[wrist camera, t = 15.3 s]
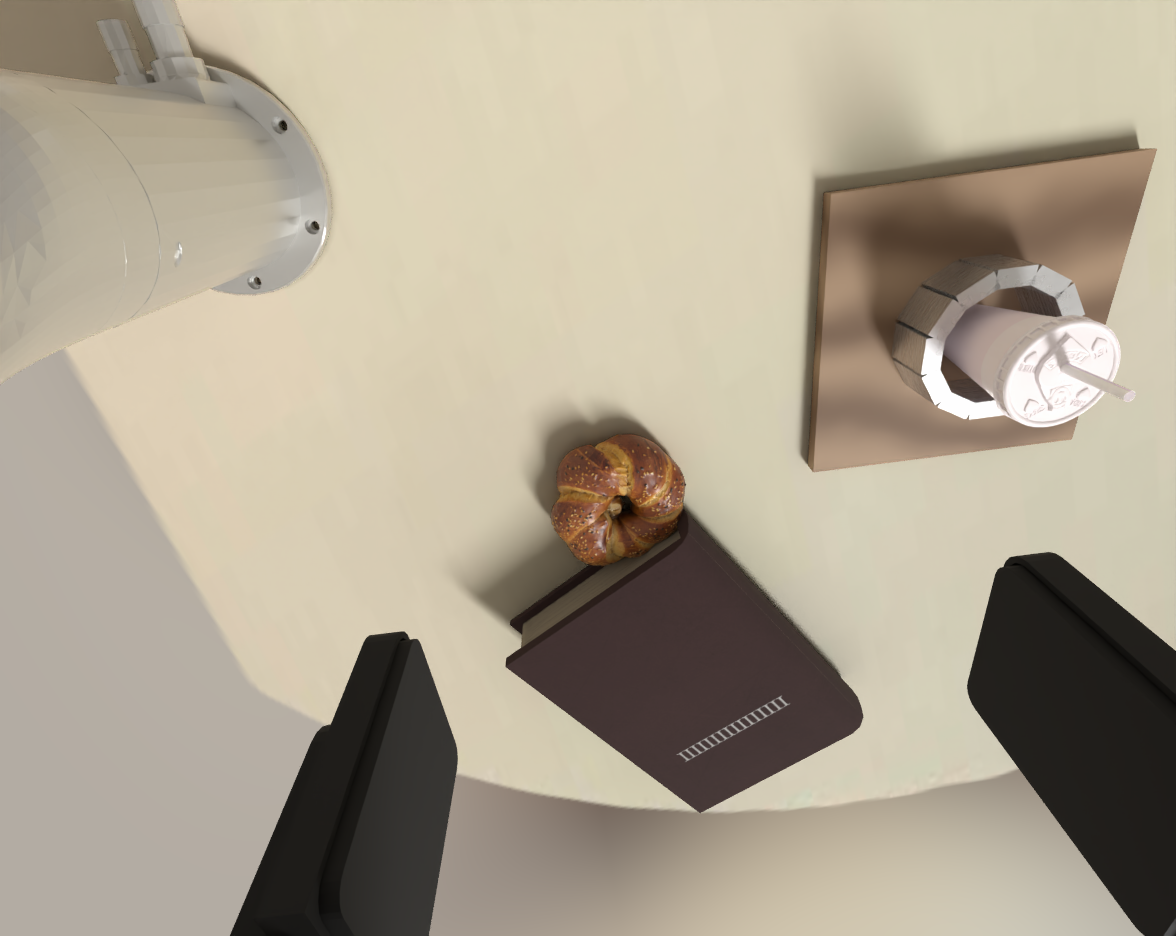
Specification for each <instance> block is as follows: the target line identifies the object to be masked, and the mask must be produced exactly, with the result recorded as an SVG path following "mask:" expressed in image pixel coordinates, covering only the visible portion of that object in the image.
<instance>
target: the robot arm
mask: <svg viewBox="0 0 1176 936" xmlns="http://www.w3.org/2000/svg"><path fill="white" fill-rule="evenodd" d="M131 1H132V3H133V6H134V8H135V11H136V13H137V16H138V18H139V21H140V23H141V26H142V29H144V30H145V31H146V33H147V36H148V38H149V41H150V44H151V46H152V49H153V51H154V54H155V56H156V59H157V60H154V61H152V62H150V64H151V67H152V69H153V70H150V71H147V72H146V71H145V68H144V66H143V63H142V61H141V58H140V56H139V53H138V51H139V50H138V47H137V45H136V42H135V40H134V37H133V35H132V32H131V30H130V27H129V25H128V22H127V21H125V20H119V19H106V20H100V21H97V22H96V24H97V27H98V29H99V32H100V34H101V36H102V39H103V41H104V43H105V46H106V48H107V51H108V52H109V53H110V54H111V56H112V59H113V61H114V64H115V66H116V68H117V71H118V73H119V75H120V76H117V77H114V78H115V80H116V83H117V84H110V83H103V82H95V81H88V80H81V79H74V78H67V77H59V76H52V75H45V74H38V73H31V72H23V71H16V70H9V69H2V68H0V385H1V384H3V383H4V382H5V381H7V380H8V379H9V378H11V377H12V376H14V375H15V374H16V373H18V372H20V371H21V370H23V369H25V368H26V367H28V366H30V365H31V364H33V363H35V362H37V361H39V360H41V359H42V358H45V357H47V356H48V355H50V354H52V353H54V352H57V351H59V350H61V349H63V348H66V347H68V346H70V345H72V344H75V343H77V342H79V341H82V340H84V339H86V338H89V337H91V336H94V335H96V334H98V333H101V332H103V331H106V330H108V329H111V328H114V327H117V326H119V325H122V324H124V323H127V322H129V321H132V320H134V319H137V318H139V317H142V316H144V315H147V314H149V313H152V312H154V311H156V310H159V309H161V308H164V307H166V306H169V305H171V304H174V303H176V302H179V301H181V300H184V299H186V298H189V297H191V296H193V295H196V294H198V293H201V292H203V291H206V290H208V289H212V290H215V291H218V292H223V293H228V294H233V295H259V294H265V293H270V292H274V291H276V290H279V289H281V288H284V287H286V286H288V285H290V284H292V283H293V282H295V281H297V280H298V279H300V278H301V277H302V276H304V275H305V274H306V273H307V272H308V271H309V270H310V269H311V268H312V267H313V266H314V265H315V263H316V261H317V260H318V258H319V257H320V255H321V254H322V252H323V250H324V247H325V245H326V242H327V240H328V237H329V233H330V227H331V220H332V198H331V191H330V186H329V182H328V177H327V173H326V170H325V168H324V165H323V163H322V160H321V158H320V155H319V152H318V151H317V149H316V147H315V145H314V144H313V142H312V140H311V139H310V137H309V135H308V133H307V132H306V130H305V129H304V128H303V126H302V125H301V124H300V123H299V121H298V120H297V119H296V118H295V116H294V115H293V114H292V113H291V112H290V111H289V110H288V109H287V108H286V107H285V106H284V105H283V104H282V103H281V102H280V101H279V100H277V99H276V98H275V97H274V96H273V95H272V94H271V93H269V92H268V91H266V90H265V89H263V88H262V87H260V86H259V85H257V84H256V83H254V82H253V81H251V80H249V79H246V78H244V77H242V76H240V75H237V74H235V73H233V72H231V71H228V70H224V69H220V68H216V67H213V66H208V65H205V64H204V61H203V59H201V58H195V57H194V56H193V53H192V50H191V48H190V45H189V42H188V39H187V37H186V34H185V31H184V24H183V21H182V19H181V16H180V13H179V10H178V8H177V5H176V2H175V0H131ZM283 121H285V122H286V123H287V130H286V131H285V130H284V129H283V128H282V122H283ZM315 221H316V222H317V223H318V224H319V229H316V228H315V227H314V222H315ZM257 277H258V278H259V279H260V281H261V283H259V282H258V281H257ZM967 689H968V695H969V698H970V700H971V703H972V705H973V706H974V708H975V709H976V711H977V712H978V714H979V715H980V716H981V718H982V719H983V720H984V722H985V723H986V724H987V726H988V727H989V728H990V730H991V731H992V733H993V734H994V735H995V737H996V738H997V739H998V741H999V742H1000V743H1001V745H1002V746H1003V748H1004V749H1005V750H1006V752H1007V753H1008V754H1009V756H1010V757H1011V758H1012V760H1013V761H1014V763H1015V764H1016V765H1017V767H1018V768H1019V769H1020V771H1021V772H1022V773H1023V775H1024V776H1025V777H1026V779H1027V780H1028V782H1029V783H1030V784H1031V786H1032V787H1033V788H1034V790H1035V791H1036V792H1037V794H1038V795H1039V797H1040V798H1041V799H1042V801H1043V802H1044V803H1045V805H1046V806H1047V807H1048V809H1049V810H1050V812H1051V813H1052V814H1053V816H1054V817H1055V818H1056V820H1057V821H1058V822H1059V824H1060V825H1061V827H1062V828H1063V829H1064V831H1065V832H1066V833H1067V835H1068V836H1069V837H1070V839H1071V840H1072V841H1073V843H1074V844H1075V845H1076V847H1077V848H1078V850H1079V851H1080V852H1081V854H1082V855H1083V856H1084V858H1085V859H1086V861H1087V862H1088V863H1089V865H1090V866H1091V867H1092V869H1093V870H1094V871H1095V873H1096V874H1097V876H1098V877H1099V878H1100V880H1101V881H1102V882H1103V884H1104V885H1105V886H1106V888H1107V889H1108V891H1109V892H1110V893H1111V894H1112V896H1113V897H1114V899H1115V900H1116V901H1117V903H1118V904H1119V905H1120V907H1121V908H1122V909H1123V911H1124V912H1125V914H1126V915H1127V916H1128V918H1129V919H1130V920H1131V922H1132V923H1133V924H1134V925H1135V927H1136V928H1137V929H1138V930H1139V931H1140V932H1141V933H1142V934H1143V935H1144V936H1176V651H1175V650H1174V649H1173V648H1172V647H1170V646H1169V645H1168V644H1167V643H1165V642H1164V641H1163V640H1162V639H1161V638H1159V637H1158V636H1157V635H1156V634H1154V633H1153V632H1152V631H1151V630H1150V629H1148V628H1147V627H1146V626H1145V625H1144V624H1142V623H1141V622H1140V621H1139V620H1137V619H1136V618H1135V617H1134V616H1133V615H1131V614H1130V613H1129V612H1128V611H1127V610H1125V609H1124V608H1123V607H1122V606H1120V605H1119V604H1118V603H1117V602H1116V601H1114V600H1113V599H1112V598H1111V597H1109V596H1108V595H1107V594H1106V593H1105V592H1103V591H1102V590H1101V589H1100V588H1099V587H1097V586H1096V585H1095V584H1094V583H1092V582H1091V581H1090V580H1089V579H1088V578H1086V577H1085V576H1084V575H1083V574H1082V573H1080V572H1079V571H1078V570H1077V569H1075V568H1074V567H1073V566H1072V565H1071V564H1069V563H1068V562H1067V561H1066V560H1064V559H1063V558H1062V557H1060V556H1059V555H1057V554H1055V553H1051V552H1046V553H1038V554H1030V555H1022V556H1014V557H1010V558H1009V559H1008V560H1007V561H1006V562H1005V564H1004V567H1002V568H999V569H998V570H997V572H996V574H995V578H994V582H993V586H992V589H991V593H990V597H989V601H988V605H987V609H986V613H985V617H984V621H983V625H982V629H981V632H980V636H979V640H978V644H977V648H976V652H975V656H974V660H973V664H972V668H971V671H970V675H969V679H968V684H967ZM457 761H458V756H457V747H456V743H455V740H454V737H453V734H452V731H451V729H450V726H449V723H448V720H447V717H446V714H445V712H444V709H443V706H442V703H441V700H440V697H439V695H438V692H437V689H436V686H435V683H434V680H433V678H432V675H431V672H430V669H429V666H428V663H427V661H426V658H425V655H424V652H423V649H422V646H421V644H420V642H419V640H418V639H411V640H410V639H409V637H408V635H407V634H406V633H405V632H394V633H386V634H377V635H369V636H368V637H367V638H366V639H365V641H364V643H363V645H362V648H361V651H360V653H359V656H358V658H357V661H356V663H355V666H354V668H353V671H352V673H351V676H350V678H349V681H348V683H347V686H346V688H345V691H344V693H343V696H342V698H341V701H340V703H339V706H338V708H337V711H336V713H335V716H334V718H333V721H332V723H331V725H326V726H323V727H322V728H321V729H320V730H319V731H318V732H317V733H316V735H315V736H314V738H313V740H312V742H311V744H310V746H309V749H308V751H307V754H306V756H305V759H304V761H303V763H302V766H301V768H300V770H299V773H298V775H297V777H296V780H295V782H294V785H293V787H292V789H291V792H290V794H289V796H288V799H287V801H286V804H285V806H284V808H283V811H282V813H281V816H280V818H279V820H278V823H277V825H276V828H275V830H274V832H273V835H272V837H271V839H270V842H269V844H268V847H267V849H266V851H265V854H264V856H263V858H262V861H261V864H260V865H259V868H258V870H257V873H256V875H255V877H254V880H253V882H252V884H251V887H250V889H249V892H248V894H247V896H246V899H245V901H244V903H243V906H242V908H241V911H240V913H239V915H238V918H237V920H236V923H235V925H234V927H233V930H232V932H231V934H230V936H429V931H430V925H431V919H432V912H433V907H434V901H435V895H436V889H437V883H438V878H439V872H440V866H441V860H442V854H443V848H444V842H445V836H446V830H447V823H448V817H449V812H450V806H451V800H452V794H453V789H454V783H455V777H456V771H457Z"/></svg>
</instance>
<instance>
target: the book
mask: <svg viewBox="0 0 1176 936" xmlns="http://www.w3.org/2000/svg"><path fill="white" fill-rule="evenodd" d="M676 525H677V530H675V532H674V533H673V534H672V535H671V536H669V537H668V538H666V539H664V540H662V541H661V542H659V543H655V544H654V545H653V547H652V548H651V549H650V550H649V551H648V552H647V553H645V554H644V555H642V556H640V557H636V558H628V557H624V558H623V559H621V560H619V561H617V562H615V563H612V564H609V565H605V566H601V565H599V566H593V565H588V566H587V567H586V568H584V569H583V570H581V571H580V572H579V573H577V574H576V575H574V576H573V577H572V578H570V579H569V580H567V581H566V582H564V583H563V584H562V585H560V586H559V587H557V588H556V589H555V590H553V591H552V592H550V593H549V594H548V595H546V596H545V597H543V598H542V599H541V600H539V601H538V602H536V603H535V604H534V605H532V606H531V607H529V608H528V609H527V610H525V611H524V612H522V613H521V614H519V615H518V616H517V617H515V618H514V619H512V620H511V621H510V625H511V626H512V627H513V628H515V629H516V630H517V631H518V632H520V633H521V634H522V643H521V648H520V649H519V650H517V651H516V652H514V653H513V654H511V655H510V656H509V657H507V658H506V667H507V668H508V669H509V670H510V671H512V672H513V673H514V674H516V675H517V676H518V677H520V678H521V679H522V680H524V681H525V682H526V683H528V684H529V685H530V686H532V687H533V688H534V689H536V690H537V691H538V692H540V693H541V694H542V695H544V696H545V697H546V698H548V699H549V700H550V701H552V702H553V703H554V704H556V705H557V706H558V707H560V708H561V709H562V710H564V711H565V712H566V713H568V714H569V715H570V716H572V717H573V718H574V719H576V720H577V721H578V722H580V723H581V724H582V725H584V726H585V727H586V728H588V729H589V730H590V731H592V732H593V733H594V734H596V735H597V736H598V737H600V738H601V739H602V740H604V741H605V742H606V743H608V744H609V745H610V746H612V747H613V748H614V749H616V750H617V751H618V752H620V753H621V754H622V755H623V756H625V757H626V758H627V759H629V760H630V761H631V762H633V763H634V764H635V765H637V766H638V767H639V768H641V769H642V770H643V771H645V772H646V773H647V774H649V775H650V776H651V777H653V778H654V779H655V780H657V781H658V782H659V783H661V784H662V785H663V786H665V787H666V788H667V789H669V790H670V791H671V792H673V793H674V794H675V795H677V796H678V797H679V798H681V799H682V800H683V801H685V802H686V803H687V804H689V805H690V806H691V807H693V808H694V809H695V810H697V811H698V812H699V813H701V812H703V811H705V810H707V809H709V808H711V807H713V806H714V805H716V804H718V803H720V802H722V801H724V800H726V799H728V798H730V797H732V796H734V795H736V794H737V793H739V792H741V791H743V790H745V789H747V788H749V787H751V786H753V785H755V784H757V783H759V782H760V781H762V780H764V779H766V778H768V777H770V776H772V775H774V774H776V773H778V772H780V771H782V770H783V769H785V768H787V767H789V766H791V765H793V764H795V763H797V762H799V761H801V760H803V759H805V758H807V757H808V756H810V755H812V754H814V753H816V752H818V751H820V750H822V749H824V748H826V747H828V746H830V745H831V744H833V743H835V742H837V741H839V740H841V739H843V738H845V737H847V736H849V735H851V734H852V733H853V732H855V731H856V730H857V729H858V728H859V727H860V725H861V722H862V719H863V713H862V708H861V705H860V702H859V700H858V697H857V696H856V694H855V693H854V692H853V690H852V689H851V688H850V687H849V686H848V685H847V684H846V683H845V682H844V681H843V679H842V678H841V677H840V676H839V675H838V674H837V673H836V672H835V671H834V670H833V669H832V668H831V667H830V666H829V664H828V663H827V662H826V661H825V660H824V659H823V658H822V657H821V656H820V655H819V654H818V653H817V652H816V651H815V649H814V648H813V647H812V646H811V645H810V644H809V643H808V642H807V641H806V640H805V639H804V638H803V637H802V636H801V634H800V633H799V632H798V631H797V630H796V629H795V628H794V627H793V626H792V625H791V624H790V623H789V622H788V621H787V619H786V618H785V617H784V616H783V615H782V614H781V613H780V612H779V611H778V610H777V609H776V608H775V607H774V606H773V604H772V603H771V602H770V601H769V600H768V599H767V598H766V597H765V596H764V595H763V594H762V593H761V592H760V591H759V590H758V588H757V587H756V586H755V585H754V584H753V583H752V582H751V581H750V580H749V579H748V578H747V577H746V576H745V575H744V573H743V572H742V571H741V570H740V569H739V568H738V567H737V566H736V565H735V564H734V563H733V562H732V561H731V560H730V558H729V557H728V556H727V555H726V554H725V553H724V552H723V551H722V550H721V549H720V548H719V547H718V546H717V545H716V543H715V542H714V541H713V540H712V539H711V538H710V537H709V536H708V535H707V534H706V533H705V532H704V531H703V530H702V528H701V527H700V526H699V525H698V524H697V523H696V522H695V521H694V520H693V519H692V518H691V517H690V516H689V515H688V513H687V512H686V511H685V510H684V509H683V511H682V515H681V517H680V520H679V521H678V522H677V524H676Z"/></svg>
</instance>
